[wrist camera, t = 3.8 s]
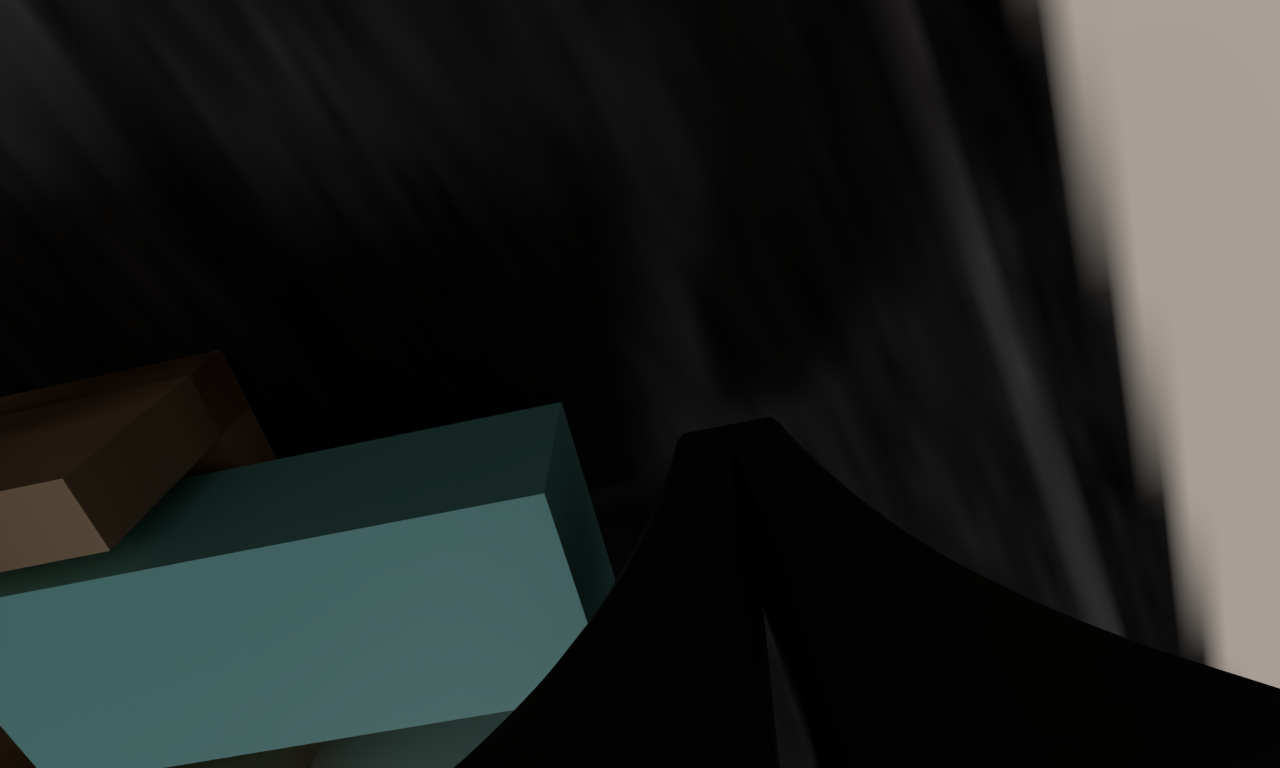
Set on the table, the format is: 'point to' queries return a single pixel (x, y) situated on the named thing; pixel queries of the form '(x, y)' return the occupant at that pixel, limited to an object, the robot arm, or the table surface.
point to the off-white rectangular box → (410, 745)
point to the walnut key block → (119, 473)
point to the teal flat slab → (311, 600)
